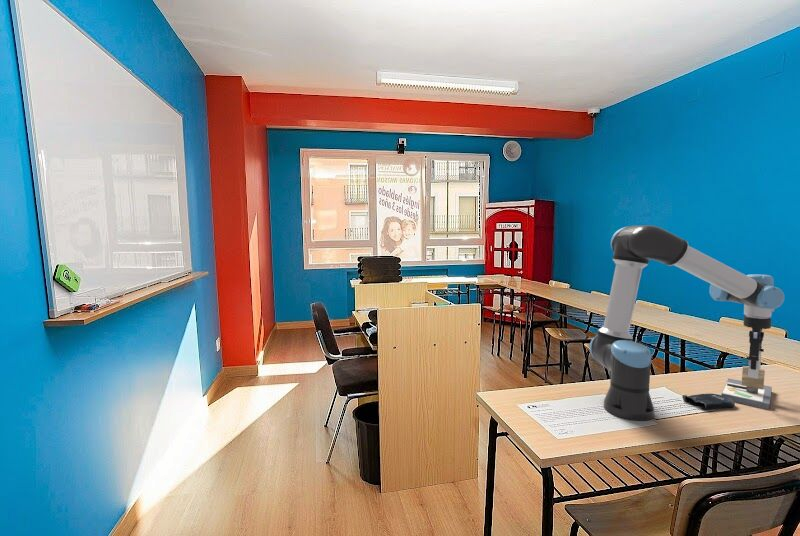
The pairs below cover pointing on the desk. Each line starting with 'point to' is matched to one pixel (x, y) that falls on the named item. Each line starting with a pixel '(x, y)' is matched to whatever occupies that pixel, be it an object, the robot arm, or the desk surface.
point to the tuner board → (747, 394)
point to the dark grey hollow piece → (710, 400)
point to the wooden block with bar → (751, 381)
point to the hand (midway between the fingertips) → (754, 372)
